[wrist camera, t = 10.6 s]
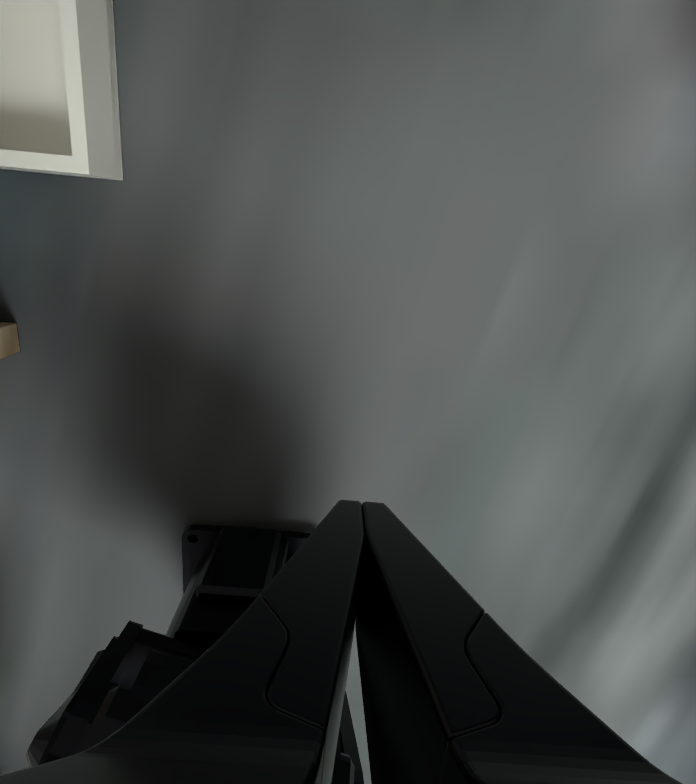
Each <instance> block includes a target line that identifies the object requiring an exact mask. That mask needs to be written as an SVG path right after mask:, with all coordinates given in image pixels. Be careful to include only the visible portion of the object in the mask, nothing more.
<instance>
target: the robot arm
mask: <svg viewBox="0 0 696 784" xmlns="http://www.w3.org/2000/svg"><path fill="white" fill-rule="evenodd" d="M190 534H194V535H196V536H197V537H198V538H193V537H192V536H191V535H190ZM182 557H183V590H184V595H183V597H182V600H181V602H180V604H179V606H178V609H177V611H176V613H175V615H174V618H173V620H172V622H171V624H170V626H169V629H168V631H167V633H166V635H162V634H159V633H156V632H153V631H150V630H147V629H144V628H143V625H141V624H138V623H135V622H132V621H129V622H128V623H127V625H126V626H125V628H124V629H123V631H122V633H121V634H120V636H119V637H115V636H114V637H113V639H112V640H111V641H110V643H109V644H108V646H107V647H106V649H105V650H102V651H99V652H97V654H96V656H95V657H94V659H93V661H92V662H91V664H90V666H89V667H88V669H87V671H86V673H85V674H84V676H83V678H82V679H81V681H80V683H79V684H78V686H77V687H76V689H75V690H74V692H73V693H72V694H71V695H70V697H69V698H68V699H67V700H66V701H65V702H64V703H63V704H62V705H61V707H60V708H59V709H58V710H57V711H56V712H55V713H54V714H53V715H52V716H51V717H50V719H49V720H48V721H47V722H46V723H45V724H44V725H43V726H42V727H41V728H40V730H39V731H38V732H37V734H36V735H35V737H34V739H33V741H32V743H31V745H30V747H29V749H28V751H27V754H26V755H27V759H28V763H29V767H30V768H27V769H24V770H20V771H17V772H13V773H10V774H6V775H2V776H0V784H364V780H363V772H362V767H361V762H360V758H359V753H358V748H357V743H356V738H355V733H354V729H353V724H352V719H351V714H350V709H349V705H348V700H347V695H346V691H345V688H346V681H347V674H348V668H349V661H350V655H351V648H352V641H353V633H354V625H355V621H356V638H357V648H358V658H359V667H360V677H361V686H362V696H363V705H364V715H365V724H366V733H367V743H368V752H369V762H370V771H371V781H372V784H682V783H680V782H679V781H677V780H675V779H673V778H672V777H670V776H668V775H667V774H665V773H664V772H662V771H661V770H660V769H658V768H657V767H655V766H654V765H653V764H651V763H650V762H649V761H647V760H646V759H645V758H644V757H643V756H641V755H640V754H639V753H638V752H637V751H635V750H634V749H633V748H632V747H631V746H630V745H629V744H627V743H626V742H625V741H624V740H623V739H622V738H621V737H619V736H618V735H617V734H616V733H615V732H614V731H613V730H612V729H610V728H609V727H608V726H607V725H606V724H605V723H604V722H603V721H601V720H600V719H599V718H598V717H597V716H596V715H595V714H593V713H592V712H591V711H590V710H589V709H588V708H587V707H586V706H584V705H583V704H582V703H581V702H580V701H579V700H578V699H577V698H575V697H574V696H573V695H572V694H571V693H570V692H569V691H567V690H566V689H565V688H564V687H563V686H562V685H561V684H560V683H558V682H557V681H556V680H555V679H554V678H553V677H552V676H551V675H550V674H549V673H547V672H546V671H545V670H544V669H543V668H542V667H541V666H540V665H539V664H538V663H537V662H536V661H534V660H533V659H532V658H531V657H530V656H529V655H528V654H527V653H526V652H525V651H524V650H523V649H522V648H521V647H520V646H519V645H518V644H517V643H516V642H515V641H514V640H513V639H512V638H511V637H510V636H509V635H508V634H507V633H506V632H505V631H504V630H503V629H502V628H501V627H500V626H499V625H498V624H497V623H496V622H495V621H494V620H493V618H492V617H491V616H490V615H489V614H488V613H485V611H484V609H483V608H482V607H481V606H480V605H479V604H478V603H477V602H476V601H475V600H474V599H473V597H472V596H471V595H470V594H469V593H468V592H467V591H466V590H465V589H464V588H463V587H462V586H461V585H460V584H459V583H458V582H457V580H456V579H455V578H454V577H453V576H452V575H451V574H450V573H449V572H448V571H447V570H446V569H445V568H444V567H443V566H442V565H441V563H440V562H439V561H438V560H437V559H436V558H435V557H434V556H433V555H432V554H431V553H430V552H429V551H428V550H427V549H426V547H425V546H424V545H423V544H422V543H421V542H420V541H419V540H418V539H417V538H416V537H415V536H414V535H413V534H412V533H411V532H410V530H409V529H408V528H407V527H406V526H405V525H404V524H403V523H402V522H401V521H400V520H399V519H398V518H397V517H396V516H395V515H394V513H393V512H392V511H391V510H390V509H389V508H388V507H387V506H386V505H385V504H383V503H376V502H364V503H363V504H362V505H361V503H360V502H359V501H350V500H340V501H338V503H337V504H336V505H335V506H334V507H333V508H332V510H331V511H330V512H329V513H328V514H327V516H326V517H325V518H324V519H323V520H322V521H321V523H320V524H319V525H318V526H317V527H316V529H315V530H314V531H313V532H312V533H311V534H310V533H297V532H284V531H276V530H268V529H255V528H242V527H229V526H226V527H220V526H207V525H190V526H188V527H187V528H186V529H185V531H184V533H183V535H182Z"/></svg>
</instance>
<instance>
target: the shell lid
mask: <svg viewBox="0 0 696 784" xmlns="http://www.w3.org/2000/svg"><path fill="white" fill-rule="evenodd" d="M0 169H6V170H16V171H27V172H37V173H48V174H58V175H69V176H79V177H89V178H100V179H110V180H121V181H123V169H122V152H121V135H120V118H119V101H118V83H117V66H116V49H115V32H114V15H113V0H0Z"/></svg>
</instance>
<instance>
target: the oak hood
mask: <svg viewBox="0 0 696 784" xmlns="http://www.w3.org/2000/svg"><path fill="white" fill-rule="evenodd" d="M18 352H20V346H19V339H18V332H17V325H16V323H6V322H0V359H2V358H5V357H8V356H10V355H13V354H15V353H18Z"/></svg>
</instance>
